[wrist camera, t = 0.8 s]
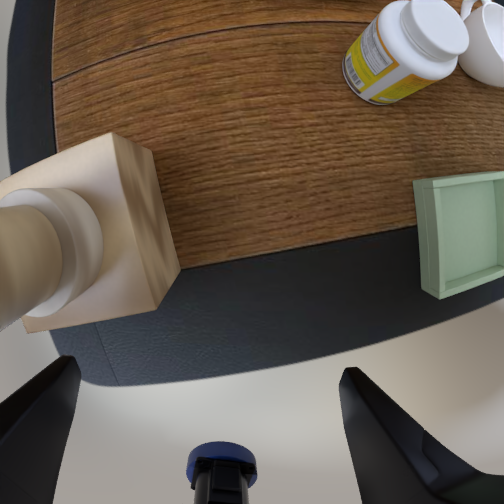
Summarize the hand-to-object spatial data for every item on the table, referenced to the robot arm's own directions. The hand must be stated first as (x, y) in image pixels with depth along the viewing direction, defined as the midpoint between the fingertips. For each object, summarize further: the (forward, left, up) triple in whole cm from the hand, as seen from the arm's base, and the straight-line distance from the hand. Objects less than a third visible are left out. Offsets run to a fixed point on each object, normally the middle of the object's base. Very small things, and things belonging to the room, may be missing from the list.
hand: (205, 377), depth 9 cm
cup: (+26, -18, -14) cm, 34 cm away
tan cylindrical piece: (+2, +9, -6) cm, 11 cm away
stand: (+2, +9, -14) cm, 17 cm away
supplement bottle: (+18, -8, -14) cm, 24 cm away
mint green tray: (+8, -19, -14) cm, 25 cm away
